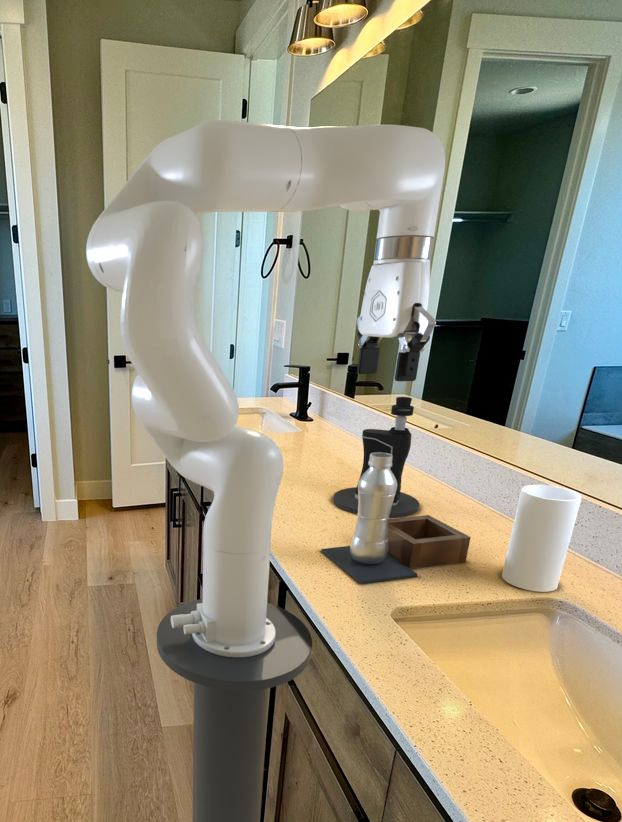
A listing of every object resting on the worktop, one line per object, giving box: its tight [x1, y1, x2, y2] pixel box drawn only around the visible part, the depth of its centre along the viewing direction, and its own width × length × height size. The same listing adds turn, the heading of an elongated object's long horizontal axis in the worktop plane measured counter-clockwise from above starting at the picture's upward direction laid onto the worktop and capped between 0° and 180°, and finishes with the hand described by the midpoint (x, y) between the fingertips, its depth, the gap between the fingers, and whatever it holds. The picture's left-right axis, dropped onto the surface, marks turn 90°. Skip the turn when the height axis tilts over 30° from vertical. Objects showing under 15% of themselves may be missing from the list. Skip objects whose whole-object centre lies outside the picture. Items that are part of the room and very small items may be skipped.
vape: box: [332, 396, 420, 519], centre depth 131 cm, size 19×19×25 cm
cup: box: [501, 484, 583, 593], centre depth 95 cm, size 8×8×16 cm
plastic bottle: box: [349, 452, 397, 564], centre depth 101 cm, size 6×7×20 cm
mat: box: [321, 545, 418, 585], centre depth 105 cm, size 11×14×1 cm
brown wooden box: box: [387, 514, 472, 570], centre depth 109 cm, size 12×12×5 cm
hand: (384, 377), depth 87 cm, fingers open, 9 cm apart
